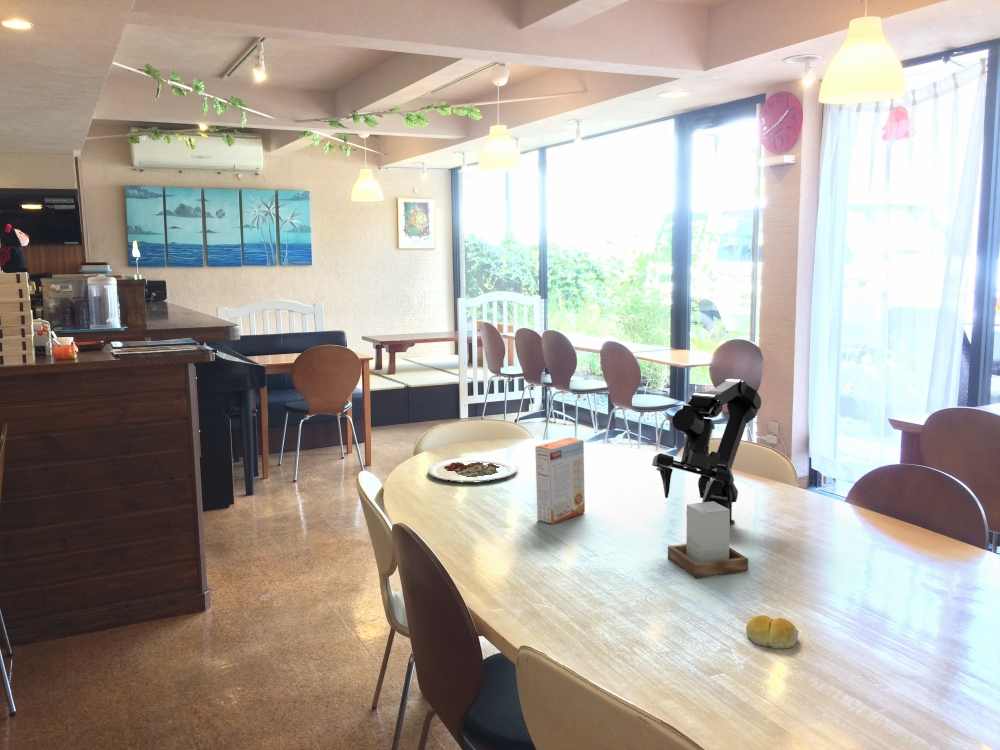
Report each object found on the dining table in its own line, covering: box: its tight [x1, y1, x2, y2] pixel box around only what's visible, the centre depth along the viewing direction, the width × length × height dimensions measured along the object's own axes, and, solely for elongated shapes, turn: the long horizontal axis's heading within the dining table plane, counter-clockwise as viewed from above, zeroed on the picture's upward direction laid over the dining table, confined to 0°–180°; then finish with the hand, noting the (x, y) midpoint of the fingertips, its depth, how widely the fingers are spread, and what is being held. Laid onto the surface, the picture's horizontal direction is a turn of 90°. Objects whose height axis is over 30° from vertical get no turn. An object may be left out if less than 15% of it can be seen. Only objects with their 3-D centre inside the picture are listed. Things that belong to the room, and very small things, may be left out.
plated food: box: [427, 456, 519, 483], centre depth 267 cm, size 30×30×3 cm
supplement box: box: [685, 501, 731, 564], centre depth 184 cm, size 7×7×13 cm
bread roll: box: [745, 614, 799, 650], centre depth 148 cm, size 8×9×4 cm
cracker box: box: [534, 437, 586, 525], centre depth 219 cm, size 14×6×21 cm, turn 135°
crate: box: [667, 543, 749, 579], centre depth 184 cm, size 13×13×3 cm
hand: (684, 502), depth 197 cm, fingers open, 9 cm apart
